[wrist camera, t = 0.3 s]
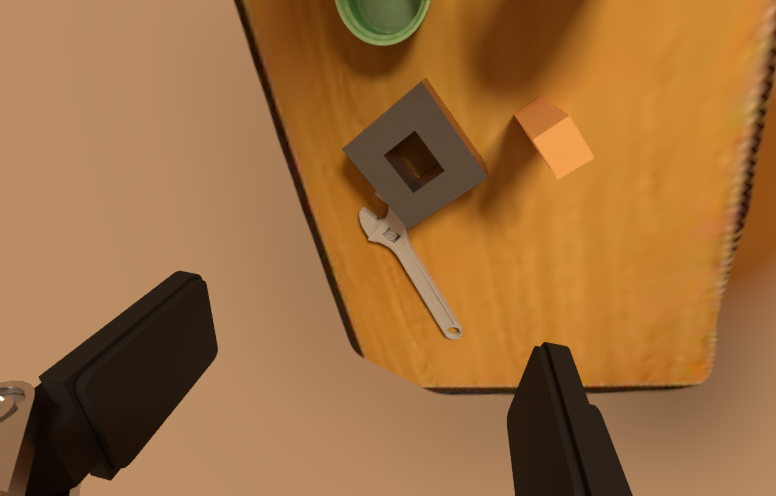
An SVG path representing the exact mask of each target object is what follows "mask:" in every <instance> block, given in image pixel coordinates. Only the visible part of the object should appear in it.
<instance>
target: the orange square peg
mask: <svg viewBox="0 0 776 496" xmlns="http://www.w3.org/2000/svg"><path fill="white" fill-rule="evenodd" d="M514 115H515V117H516V119H517V120H518V122H519V123H520V125H521V126H522V128H523V130H524V131H525V133H526V134H527V136H528V137H529V139H530V141H531V142H532V144H533V145H534V147H535V148H536V150H537V151H538V152H539V154H540V155H541V157H542V158H543V159H544V161H545V162H546V164H547V165H548V167H549V168H550V169H551V171H552V172H553V174H554V175H555V177H556V178H557V179H559V178H561V177H563V176H565V175H566V174H568V173H570V172H571V171H573V170H575V169H576V168H578V167H580V166H581V165H583V164H585V163H587V162H588V161H590V160H592V159H593V158H594V156H593V155H592V153H591V151H590V149H589V148H588V146H587V144H586V143H585V141H584V139H583V137H582V136H581V134H580V132H579V131H578V129H577V127H576V125H575V124H574V122H573V120H572V119H571V117H570V115H568V114H567V113H565V112H564V111H562V110H561V109H559V108H558V107H556V106H555V105H553V104H552V103H550V102H549V101H547V100H546V99H544V98H543V97H541V96H539V97H538V98H537V99H535V100H534V101H532V102H531V103H530V104H528V105H527V106H525V107H524V108H522V109H521V110H520V111H518V112H517V113H515V114H514Z"/></svg>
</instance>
